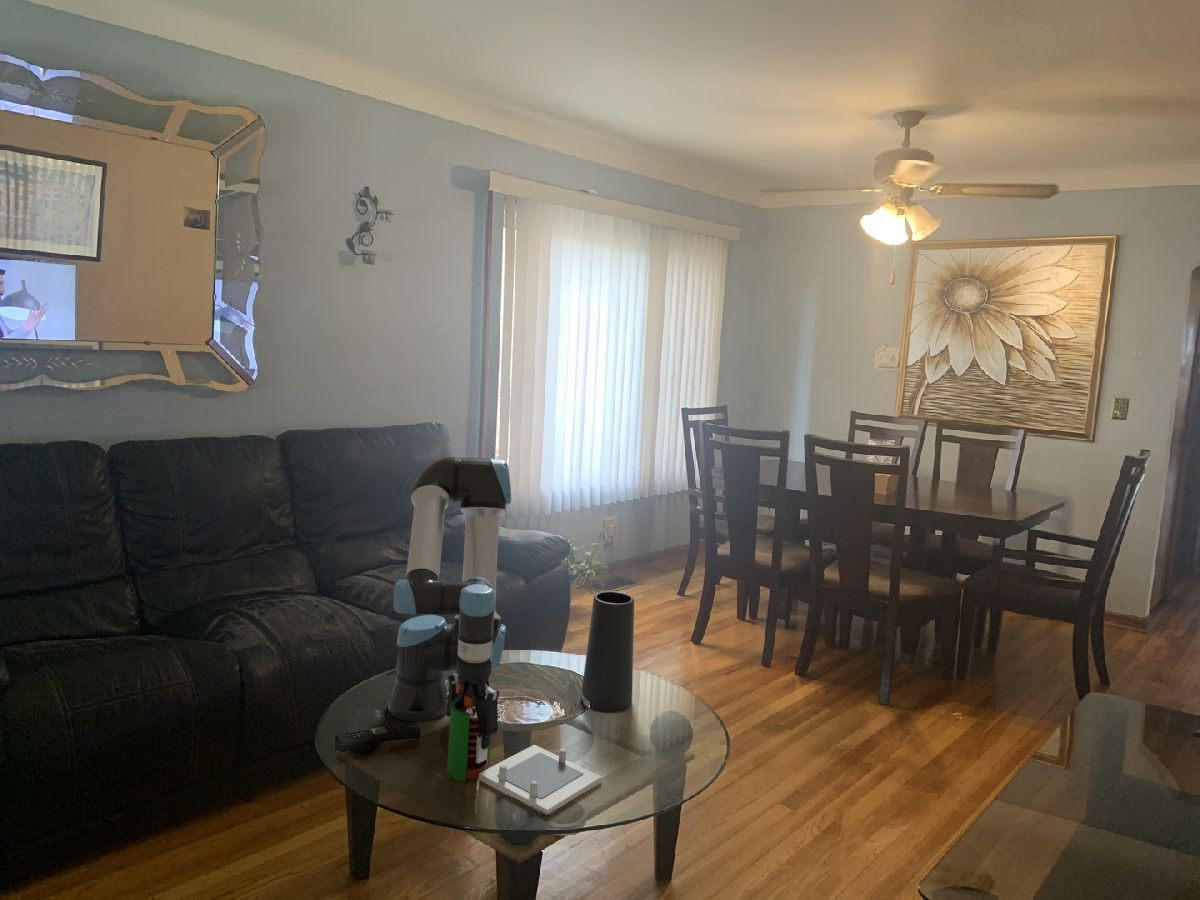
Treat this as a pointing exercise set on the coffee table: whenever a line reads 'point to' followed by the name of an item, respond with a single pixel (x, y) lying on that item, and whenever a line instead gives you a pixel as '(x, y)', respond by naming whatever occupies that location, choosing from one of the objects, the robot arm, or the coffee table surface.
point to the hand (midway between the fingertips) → (470, 754)
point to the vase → (610, 653)
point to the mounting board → (540, 778)
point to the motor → (464, 742)
